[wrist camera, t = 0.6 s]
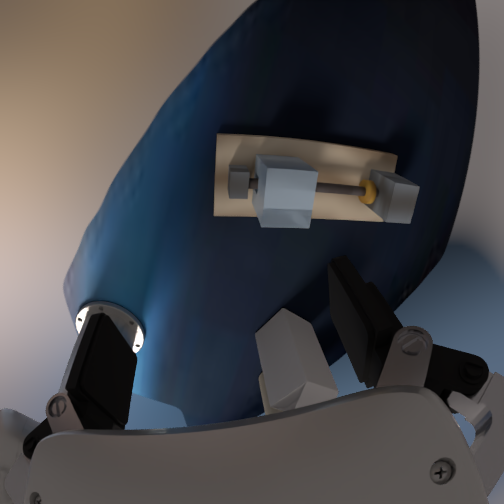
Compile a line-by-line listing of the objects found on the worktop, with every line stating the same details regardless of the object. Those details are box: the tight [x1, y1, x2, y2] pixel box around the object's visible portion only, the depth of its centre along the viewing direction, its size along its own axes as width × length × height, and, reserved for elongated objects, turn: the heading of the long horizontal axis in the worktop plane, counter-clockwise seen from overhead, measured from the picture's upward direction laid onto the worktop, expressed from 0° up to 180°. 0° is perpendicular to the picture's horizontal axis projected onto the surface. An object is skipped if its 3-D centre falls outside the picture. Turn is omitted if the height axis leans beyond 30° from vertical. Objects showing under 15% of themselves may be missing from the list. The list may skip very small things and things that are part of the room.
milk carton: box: [255, 308, 338, 411], centre depth 41 cm, size 7×7×19 cm
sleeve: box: [252, 154, 318, 228], centre depth 31 cm, size 6×5×7 cm
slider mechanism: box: [214, 134, 420, 224], centre depth 33 cm, size 10×24×8 cm, turn 85°
